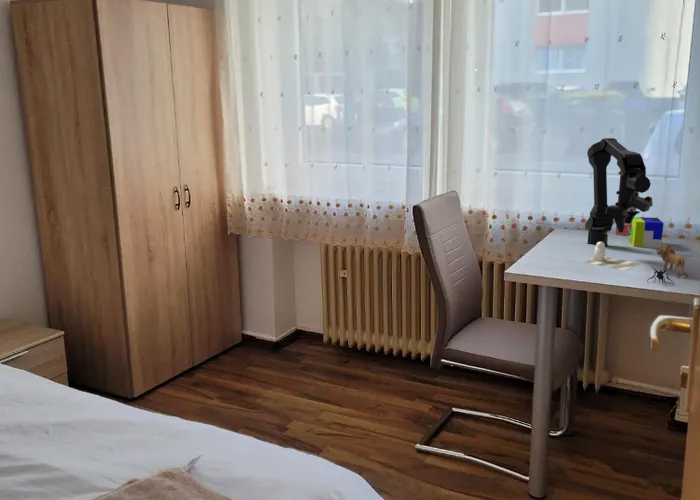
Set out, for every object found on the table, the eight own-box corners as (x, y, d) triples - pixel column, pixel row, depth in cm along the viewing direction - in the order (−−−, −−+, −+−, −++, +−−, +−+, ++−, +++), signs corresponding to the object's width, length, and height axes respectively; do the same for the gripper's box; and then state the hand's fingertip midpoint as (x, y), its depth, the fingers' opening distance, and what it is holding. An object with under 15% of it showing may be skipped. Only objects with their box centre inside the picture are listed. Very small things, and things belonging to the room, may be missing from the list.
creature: (673, 290, 214) (672, 278, 221) (676, 275, 212) (674, 264, 218) (647, 288, 217) (646, 276, 223) (649, 273, 214) (648, 261, 221)
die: (615, 234, 245) (616, 223, 244) (620, 233, 247) (621, 221, 246) (627, 236, 241) (628, 224, 240) (632, 234, 244) (633, 223, 243)
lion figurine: (651, 267, 236) (654, 242, 234) (664, 266, 237) (667, 241, 235) (681, 279, 222) (685, 253, 220) (695, 278, 223) (698, 251, 221)
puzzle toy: (660, 247, 263) (663, 222, 261) (633, 246, 265) (636, 221, 263) (654, 242, 273) (657, 217, 270) (628, 240, 275) (631, 216, 272)
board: (582, 264, 240) (582, 262, 240) (601, 257, 249) (602, 255, 249) (623, 273, 229) (623, 270, 229) (641, 265, 238) (642, 263, 238)
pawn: (591, 259, 243) (593, 241, 241) (596, 258, 245) (598, 240, 243) (601, 261, 240) (603, 243, 238) (606, 260, 242) (608, 241, 241)
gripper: (638, 193, 229) (633, 238, 232) (661, 188, 241) (657, 231, 245) (606, 190, 237) (603, 233, 240) (631, 185, 249) (627, 226, 253)
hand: (623, 231), depth 244 cm, fingers closed on die, 4 cm apart
